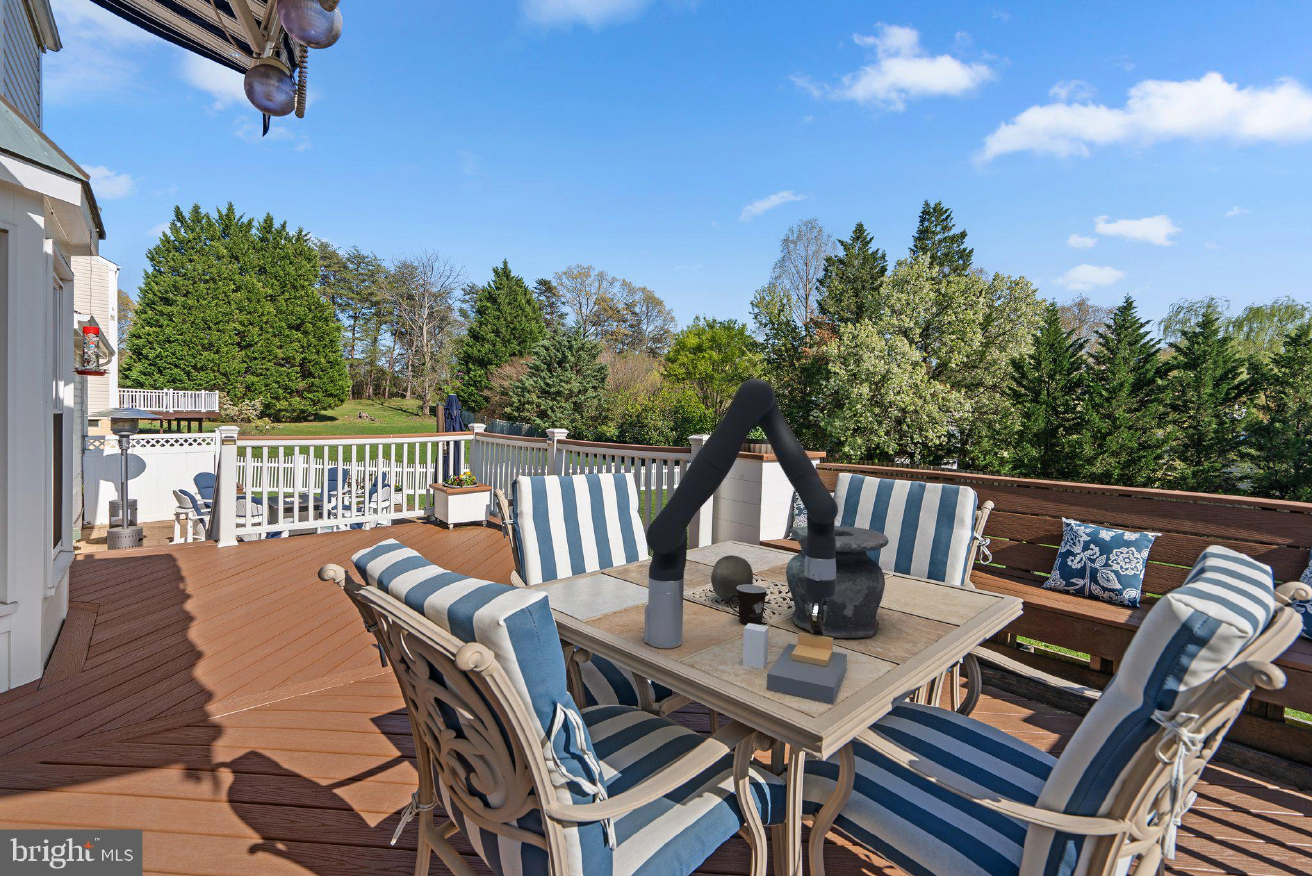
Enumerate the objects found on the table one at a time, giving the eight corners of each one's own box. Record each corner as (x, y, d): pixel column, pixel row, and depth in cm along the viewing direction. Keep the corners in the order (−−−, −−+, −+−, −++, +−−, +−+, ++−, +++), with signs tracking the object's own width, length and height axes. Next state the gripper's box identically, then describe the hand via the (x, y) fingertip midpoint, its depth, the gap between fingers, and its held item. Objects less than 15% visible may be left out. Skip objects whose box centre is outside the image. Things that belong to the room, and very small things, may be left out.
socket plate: (766, 689, 126) (767, 673, 126) (787, 657, 144) (788, 643, 144) (833, 704, 120) (833, 687, 120) (846, 668, 138) (847, 654, 138)
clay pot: (899, 613, 176) (898, 518, 172) (875, 660, 151) (874, 550, 147) (805, 597, 192) (802, 509, 188) (770, 636, 167) (766, 537, 163)
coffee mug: (762, 617, 174) (763, 584, 174) (768, 627, 165) (769, 593, 165) (723, 617, 174) (724, 584, 173) (728, 627, 165) (729, 592, 165)
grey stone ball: (701, 598, 192) (702, 553, 192) (737, 594, 198) (739, 550, 198) (724, 610, 180) (725, 562, 179) (762, 606, 186) (763, 559, 185)
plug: (742, 665, 139) (743, 628, 139) (747, 659, 142) (748, 623, 142) (763, 669, 137) (764, 631, 136) (767, 663, 140) (768, 626, 140)
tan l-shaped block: (791, 659, 134) (791, 642, 134) (798, 648, 141) (799, 632, 141) (827, 666, 130) (827, 649, 130) (832, 654, 137) (833, 638, 137)
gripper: (809, 567, 149) (807, 634, 150) (798, 578, 138) (796, 651, 138) (839, 571, 146) (837, 639, 147) (831, 583, 134) (829, 657, 135)
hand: (817, 644), depth 142 cm, fingers closed
